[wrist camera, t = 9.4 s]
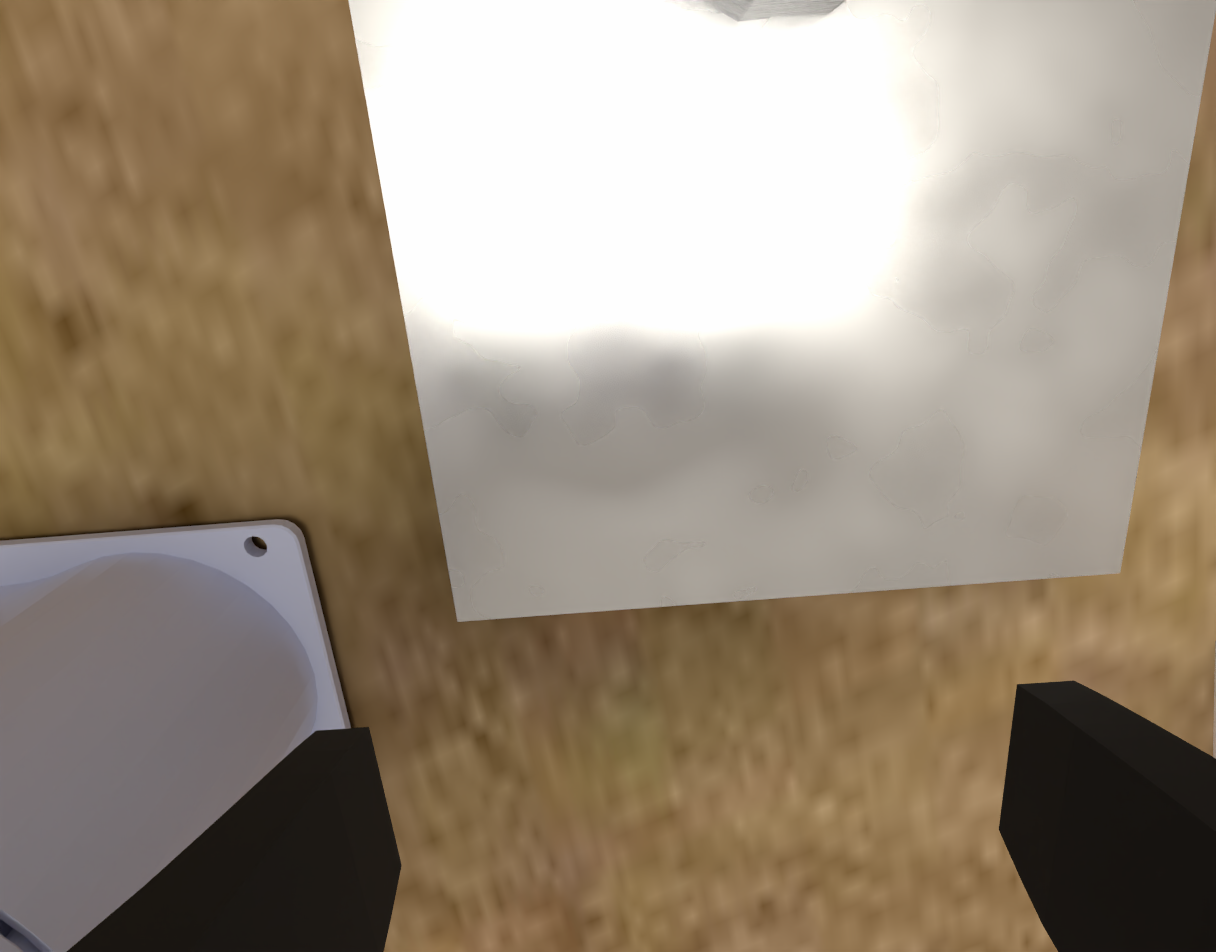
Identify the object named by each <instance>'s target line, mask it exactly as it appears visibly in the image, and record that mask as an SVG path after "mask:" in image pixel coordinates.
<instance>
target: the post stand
mask: <svg viewBox="0 0 1216 952" xmlns="http://www.w3.org/2000/svg"><path fill="white" fill-rule="evenodd" d="M349 6H350V11H351V17H352V23H353V29H354V34H355V40H356V46H357V51H358V57H359V63H360V68H361V74H362V80H363V86H364V91H365V97H366V103H367V108H368V114H369V120H370V126H371V131H372V137H373V143H374V148H375V154H376V160H377V165H378V171H379V177H380V183H381V188H382V194H383V200H384V205H385V211H386V217H387V222H388V228H389V234H390V240H391V245H392V251H393V257H394V262H395V268H396V274H397V279H398V285H399V291H400V297H401V302H402V308H403V314H404V319H405V325H406V331H407V337H408V342H409V348H410V354H411V359H412V365H413V371H414V376H415V382H416V388H417V394H418V399H419V405H420V411H421V416H422V422H423V428H424V433H425V439H426V445H427V451H428V456H429V462H430V468H431V473H432V479H433V485H434V491H435V496H436V502H437V508H438V513H439V519H440V525H441V530H442V536H443V542H444V548H445V553H446V559H447V565H448V570H449V576H450V582H451V587H452V593H453V599H454V605H455V610H456V616H457V622H462V621H475V620H489V619H503V618H516V617H530V616H543V615H557V614H571V613H584V612H598V611H611V610H625V609H639V608H652V607H666V606H679V605H693V604H707V603H720V602H734V601H747V600H761V599H775V598H788V597H802V596H816V595H829V594H843V593H856V592H870V591H884V590H897V589H911V588H924V587H938V586H952V585H965V584H979V583H992V582H1006V581H1020V580H1033V579H1047V578H1060V577H1074V576H1088V575H1101V574H1115V573H1120V570H1121V564H1122V558H1123V552H1124V546H1125V541H1126V535H1127V529H1128V523H1129V517H1130V511H1131V505H1132V499H1133V494H1134V488H1135V482H1136V476H1137V470H1138V464H1139V458H1140V452H1141V447H1142V441H1143V435H1144V429H1145V423H1146V417H1147V411H1148V405H1149V400H1150V394H1151V388H1152V382H1153V376H1154V370H1155V364H1156V358H1157V353H1158V347H1159V341H1160V335H1161V329H1162V323H1163V317H1164V311H1165V306H1166V300H1167V294H1168V288H1169V282H1170V276H1171V270H1172V264H1173V259H1174V253H1175V247H1176V241H1177V235H1178V229H1179V223H1180V217H1181V212H1182V206H1183V200H1184V194H1185V188H1186V182H1187V176H1188V170H1189V165H1190V159H1191V153H1192V147H1193V141H1194V135H1195V129H1196V123H1197V118H1198V112H1199V106H1200V100H1201V94H1202V88H1203V82H1204V76H1205V71H1206V65H1207V59H1208V53H1209V47H1210V41H1211V35H1212V29H1213V24H1214V18H1215V12H1216V0H847V1H845V2H844V3H843V4H841V5H840V6H839V7H837V8H836V9H835V10H834V11H833V12H832V13H822V14H811V15H801V16H791V17H780V18H770V19H759V20H749V21H739V22H737V21H736V20H734V19H733V18H731V17H729V16H727V15H725V14H724V13H722V12H720V11H718V10H716V9H715V8H713V7H711V6H709V5H707V4H706V3H704V2H702V1H700V0H349Z"/></svg>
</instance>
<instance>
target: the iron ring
mask: <svg viewBox="0 0 1216 952" xmlns="http://www.w3.org/2000/svg"><path fill="white" fill-rule="evenodd" d="M700 1H702V2H704V3H706V4H707V5H709V6H711V7H713V8H715V9H716V10H718V11H720V12H722V13H724V14H725V15H727V16H729V17H731V18H733V19H734V20H736V21H737V22H739V21H749V20H759V19H770V18H780V17H791V16H801V15H811V14H822V13H832V12H833V11H834V10H835V9H836V8H837V7H839V6H840V5H841V4H843V3H844V2H845V1H847V0H700Z"/></svg>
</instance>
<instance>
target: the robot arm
mask: <svg viewBox="0 0 1216 952" xmlns="http://www.w3.org/2000/svg"><path fill="white" fill-rule="evenodd" d="M252 536H255V537H259V538H261V539H262V540H264V541H265V543H266V545H267V550H264V549H259V548H258V547H256V546H255V545H254V543H253V541H252ZM999 831H1000V833H1001V836H1002V838H1003V840H1004V842H1005V845H1006V847H1007V849H1008V851H1009V854H1010V856H1011V858H1012V860H1013V863H1014V865H1015V867H1016V869H1017V871H1018V874H1019V876H1020V878H1021V880H1022V883H1023V885H1024V887H1025V889H1026V891H1027V893H1028V895H1029V897H1030V899H1031V901H1032V903H1033V906H1034V908H1035V910H1036V912H1037V914H1038V916H1039V918H1040V920H1041V922H1042V924H1043V926H1044V928H1045V930H1046V931H1047V933H1048V935H1049V937H1050V938H1051V940H1052V942H1053V943H1054V945H1055V947H1056V948H1057V950H1058V952H1216V759H1215V758H1214V757H1212V756H1210V755H1208V754H1207V753H1205V752H1203V751H1201V750H1200V749H1198V748H1196V747H1194V746H1193V745H1191V744H1189V743H1187V742H1186V741H1184V740H1182V739H1180V738H1179V737H1177V736H1175V735H1173V734H1172V733H1170V732H1168V731H1166V730H1164V729H1163V728H1161V727H1159V726H1157V725H1156V724H1154V723H1152V722H1150V721H1149V720H1147V719H1145V718H1143V717H1141V716H1140V715H1138V714H1136V713H1134V712H1133V711H1131V710H1129V709H1127V708H1125V707H1124V706H1122V705H1120V704H1118V703H1116V702H1114V701H1113V700H1111V699H1109V698H1107V697H1105V696H1103V695H1101V694H1099V693H1098V692H1096V691H1094V690H1092V689H1090V688H1088V687H1086V686H1084V685H1082V684H1080V683H1078V682H1076V681H1063V682H1048V683H1032V684H1017V689H1016V697H1015V705H1014V713H1013V721H1012V729H1011V737H1010V745H1009V753H1008V761H1007V769H1006V777H1005V785H1004V793H1003V801H1002V809H1001V817H1000V825H999ZM400 870H401V861H400V857H399V853H398V849H397V844H396V840H395V836H394V832H393V827H392V823H391V819H390V815H389V810H388V806H387V802H386V798H385V794H384V789H383V785H382V781H381V777H380V772H379V768H378V764H377V760H376V756H375V751H374V747H373V743H372V739H371V734H370V730H369V727H363V728H351V726H350V722H349V718H348V714H347V710H346V706H345V701H344V697H343V693H342V689H341V685H340V681H339V677H338V673H337V669H336V665H335V661H334V657H333V653H332V648H331V644H330V640H329V636H328V632H327V628H326V624H325V620H324V616H323V612H322V608H321V604H320V600H319V595H318V591H317V587H316V583H315V579H314V575H313V571H312V567H311V563H310V559H309V555H308V551H307V547H306V543H305V538H304V536H303V534H302V531H301V530H300V529H299V528H298V527H297V526H296V525H295V524H294V523H292V522H290V521H288V520H281V519H274V520H261V521H248V522H235V523H223V524H210V525H197V526H184V527H171V528H158V529H146V530H133V531H120V532H107V533H94V534H82V535H69V536H56V537H43V538H30V539H17V540H5V541H0V952H383V951H384V947H385V942H386V938H387V933H388V929H389V924H390V920H391V915H392V910H393V905H394V900H395V895H396V890H397V885H398V880H399V875H400Z"/></svg>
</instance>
